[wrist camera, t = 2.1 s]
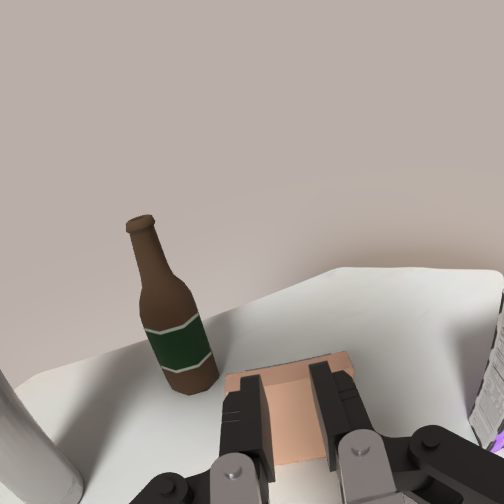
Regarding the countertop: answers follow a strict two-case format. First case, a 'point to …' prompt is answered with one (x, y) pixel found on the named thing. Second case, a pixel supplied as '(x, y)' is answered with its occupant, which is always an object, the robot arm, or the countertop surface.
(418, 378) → the countertop surface
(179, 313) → the beer bottle
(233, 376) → the tile
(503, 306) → the candy box
